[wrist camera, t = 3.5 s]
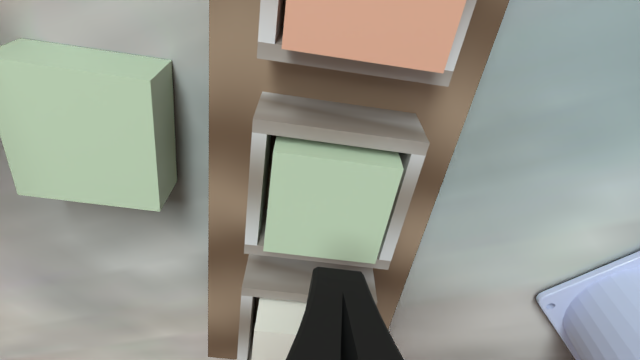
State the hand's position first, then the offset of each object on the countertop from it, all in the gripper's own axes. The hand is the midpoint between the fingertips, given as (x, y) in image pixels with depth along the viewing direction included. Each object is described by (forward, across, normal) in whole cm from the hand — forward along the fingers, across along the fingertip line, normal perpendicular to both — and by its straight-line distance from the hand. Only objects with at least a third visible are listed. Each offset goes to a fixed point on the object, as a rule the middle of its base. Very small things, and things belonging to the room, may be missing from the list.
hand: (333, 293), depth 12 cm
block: (+9, +10, 0) cm, 13 cm away
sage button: (+7, 0, 0) cm, 7 cm away
